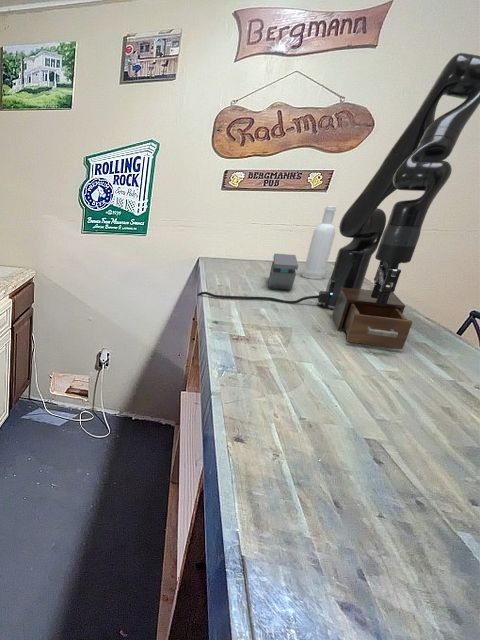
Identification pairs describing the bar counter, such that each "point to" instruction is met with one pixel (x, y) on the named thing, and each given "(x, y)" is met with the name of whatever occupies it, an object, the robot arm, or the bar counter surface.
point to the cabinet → (358, 297)
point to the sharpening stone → (283, 271)
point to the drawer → (376, 325)
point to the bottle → (320, 246)
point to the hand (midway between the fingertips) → (377, 301)
